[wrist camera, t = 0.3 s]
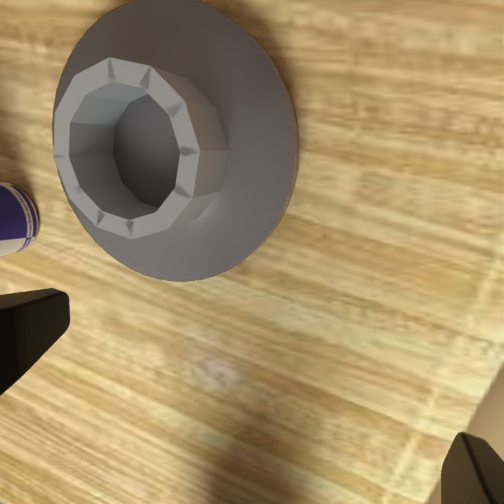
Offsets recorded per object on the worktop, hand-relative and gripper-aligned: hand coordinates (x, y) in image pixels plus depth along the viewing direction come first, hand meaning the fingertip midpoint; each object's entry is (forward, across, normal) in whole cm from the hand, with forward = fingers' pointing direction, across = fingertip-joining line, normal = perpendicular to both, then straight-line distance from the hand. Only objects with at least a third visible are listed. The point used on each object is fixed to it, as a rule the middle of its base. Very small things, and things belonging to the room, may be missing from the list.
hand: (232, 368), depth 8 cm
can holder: (+15, +10, -2) cm, 18 cm away
